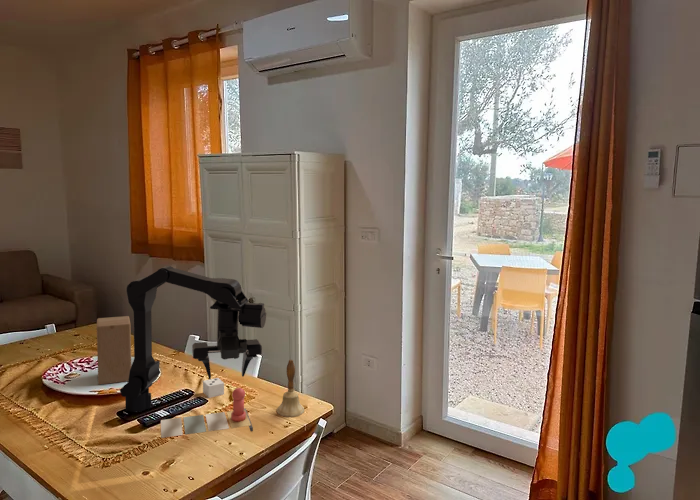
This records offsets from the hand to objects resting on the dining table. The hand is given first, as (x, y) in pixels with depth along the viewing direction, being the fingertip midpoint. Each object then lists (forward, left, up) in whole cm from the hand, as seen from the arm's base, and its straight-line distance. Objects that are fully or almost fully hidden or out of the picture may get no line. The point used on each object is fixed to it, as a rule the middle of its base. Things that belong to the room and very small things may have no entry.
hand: (226, 377), depth 142 cm
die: (-2, +16, -13) cm, 20 cm away
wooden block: (-32, +40, -13) cm, 53 cm away
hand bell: (+19, 0, -13) cm, 23 cm away
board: (-6, -3, -13) cm, 14 cm away
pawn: (+3, -3, -11) cm, 12 cm away
